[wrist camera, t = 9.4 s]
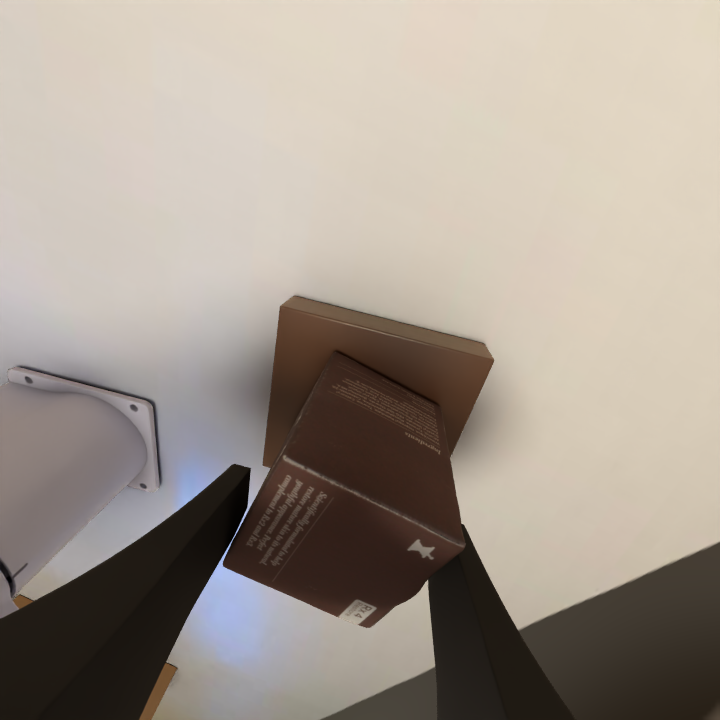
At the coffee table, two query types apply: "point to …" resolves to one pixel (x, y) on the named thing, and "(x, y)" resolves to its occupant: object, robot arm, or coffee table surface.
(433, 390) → the copper block
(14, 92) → the coffee table surface
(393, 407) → the box
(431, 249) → the coffee table surface
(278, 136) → the coffee table surface
